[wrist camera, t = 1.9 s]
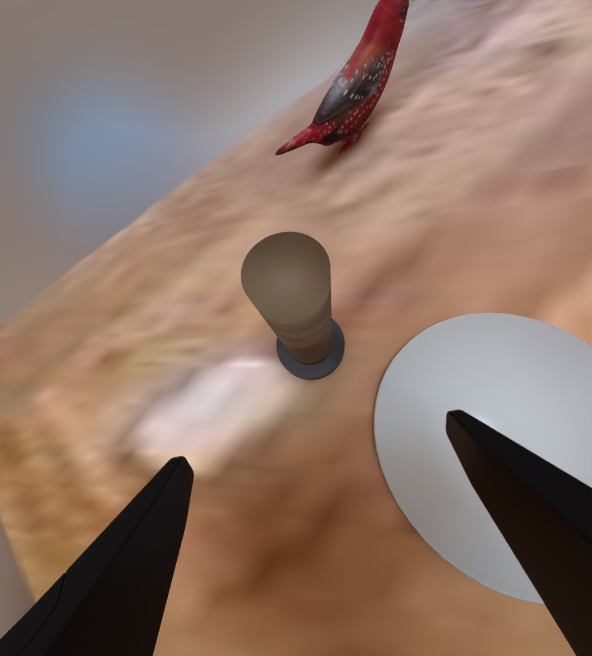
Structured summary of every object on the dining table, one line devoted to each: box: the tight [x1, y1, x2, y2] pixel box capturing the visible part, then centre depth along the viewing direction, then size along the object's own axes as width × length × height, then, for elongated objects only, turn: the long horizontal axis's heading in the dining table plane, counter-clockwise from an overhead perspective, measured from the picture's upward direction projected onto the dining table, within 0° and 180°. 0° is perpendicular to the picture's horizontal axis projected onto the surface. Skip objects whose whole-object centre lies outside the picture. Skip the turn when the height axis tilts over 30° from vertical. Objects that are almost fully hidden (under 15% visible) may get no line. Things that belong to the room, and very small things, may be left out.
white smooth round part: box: [373, 313, 592, 604], centre depth 18 cm, size 18×18×1 cm
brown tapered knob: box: [241, 232, 345, 380], centre depth 17 cm, size 6×6×13 cm
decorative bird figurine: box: [276, 0, 409, 155], centre depth 24 cm, size 3×18×10 cm, turn 138°
